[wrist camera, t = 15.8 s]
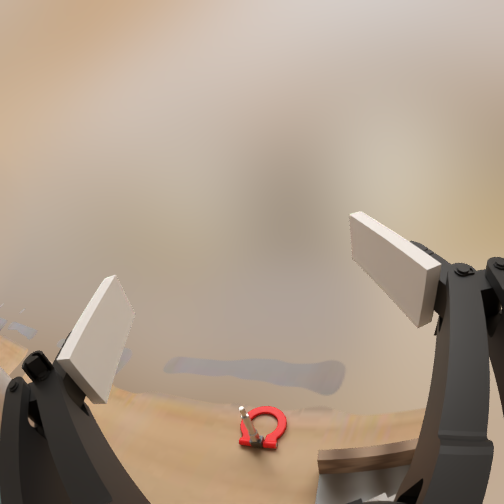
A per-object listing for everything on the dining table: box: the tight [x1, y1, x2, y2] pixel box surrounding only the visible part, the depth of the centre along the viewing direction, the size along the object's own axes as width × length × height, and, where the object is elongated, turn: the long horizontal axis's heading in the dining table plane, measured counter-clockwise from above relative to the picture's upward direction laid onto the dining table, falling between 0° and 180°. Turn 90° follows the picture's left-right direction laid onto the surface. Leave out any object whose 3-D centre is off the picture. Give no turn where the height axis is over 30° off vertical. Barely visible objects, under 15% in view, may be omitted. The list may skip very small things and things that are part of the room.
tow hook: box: [239, 406, 287, 448], centre depth 40 cm, size 8×13×9 cm
